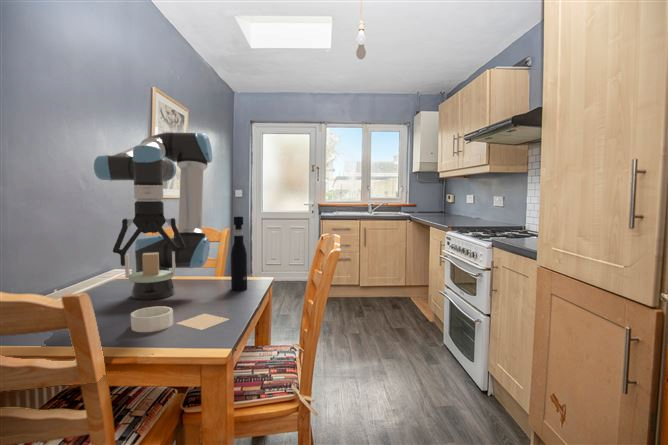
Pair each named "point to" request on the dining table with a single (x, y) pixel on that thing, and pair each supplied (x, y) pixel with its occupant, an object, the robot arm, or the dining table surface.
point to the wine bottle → (238, 259)
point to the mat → (202, 321)
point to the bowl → (151, 319)
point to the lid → (150, 270)
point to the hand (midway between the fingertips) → (151, 275)
